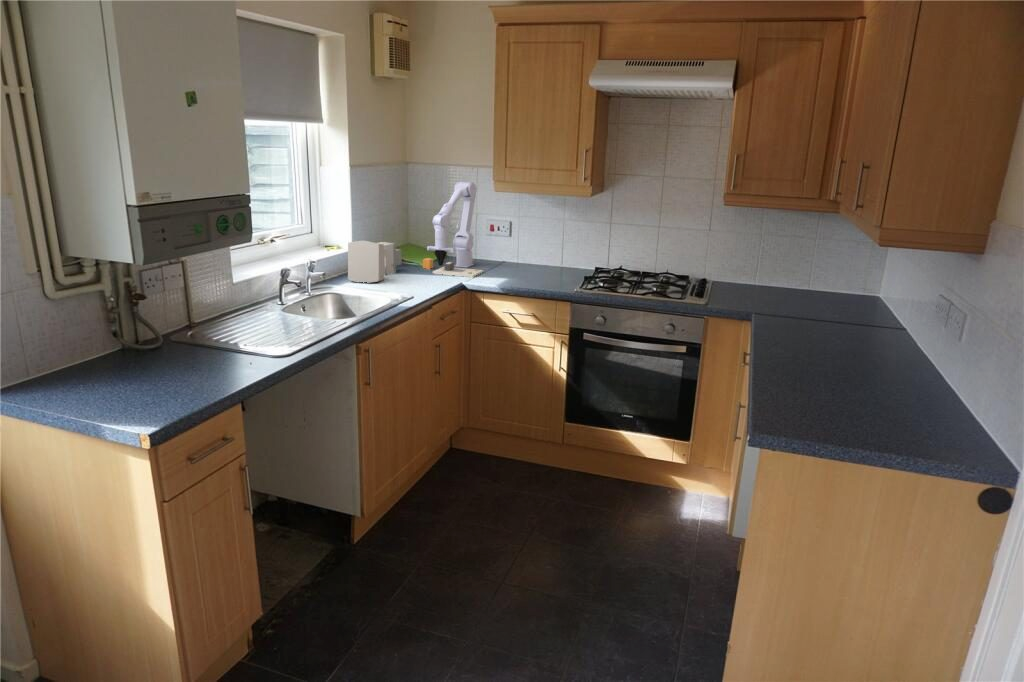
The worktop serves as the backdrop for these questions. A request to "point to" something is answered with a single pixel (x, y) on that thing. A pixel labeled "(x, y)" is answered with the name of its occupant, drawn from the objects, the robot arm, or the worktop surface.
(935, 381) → the worktop surface
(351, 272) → the electrical switch box
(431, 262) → the cap
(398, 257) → the circuit breaker
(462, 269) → the light wooden flat board
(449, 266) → the breaker lever
